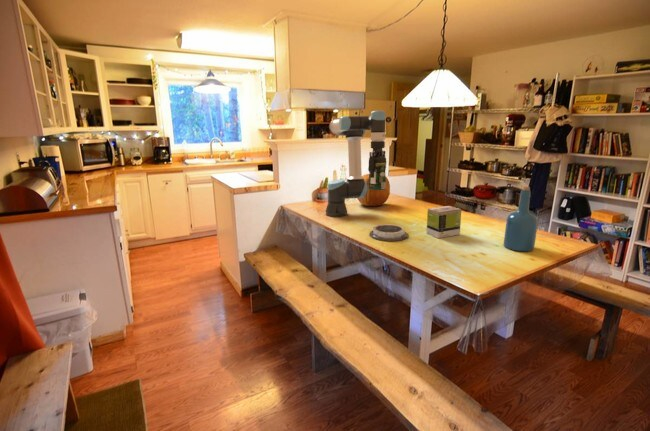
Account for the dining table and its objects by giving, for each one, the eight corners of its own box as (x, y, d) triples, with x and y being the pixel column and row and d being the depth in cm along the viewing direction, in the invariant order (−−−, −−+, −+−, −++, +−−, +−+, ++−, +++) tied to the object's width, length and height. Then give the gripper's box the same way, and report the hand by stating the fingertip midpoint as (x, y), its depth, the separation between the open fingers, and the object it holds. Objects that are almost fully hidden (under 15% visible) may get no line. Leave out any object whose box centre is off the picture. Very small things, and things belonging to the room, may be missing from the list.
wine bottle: (518, 254, 156) (527, 190, 148) (496, 244, 168) (503, 185, 161) (541, 250, 159) (551, 188, 152) (518, 241, 172) (526, 183, 164)
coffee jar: (365, 189, 189) (366, 155, 185) (376, 187, 194) (376, 155, 189) (377, 191, 182) (378, 156, 177) (388, 189, 186) (389, 155, 181)
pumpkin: (358, 209, 246) (358, 168, 238) (353, 202, 267) (353, 164, 260) (393, 208, 248) (394, 167, 240) (385, 201, 269) (386, 164, 262)
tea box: (447, 230, 193) (449, 205, 189) (460, 235, 184) (462, 208, 180) (425, 233, 188) (427, 207, 184) (437, 238, 179) (439, 211, 175)
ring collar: (380, 227, 200) (380, 221, 199) (414, 233, 188) (414, 227, 187) (362, 236, 184) (362, 230, 183) (398, 244, 172) (398, 237, 171)
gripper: (374, 141, 171) (373, 185, 176) (393, 140, 187) (392, 180, 193) (361, 141, 175) (361, 184, 181) (381, 140, 192) (380, 179, 197)
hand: (377, 182), depth 187 cm, fingers closed on coffee jar, 8 cm apart
